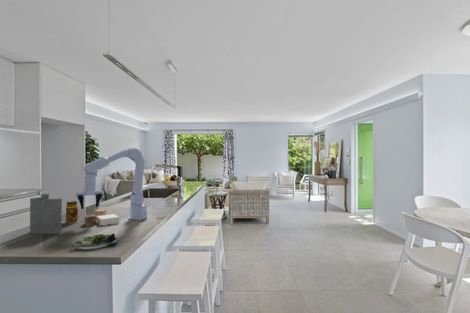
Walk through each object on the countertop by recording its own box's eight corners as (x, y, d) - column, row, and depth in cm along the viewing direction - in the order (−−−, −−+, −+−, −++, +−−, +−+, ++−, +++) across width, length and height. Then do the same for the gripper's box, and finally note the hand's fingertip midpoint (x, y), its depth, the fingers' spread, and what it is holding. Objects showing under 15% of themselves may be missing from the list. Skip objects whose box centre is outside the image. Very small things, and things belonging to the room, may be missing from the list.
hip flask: (62, 232, 146) (63, 193, 146) (57, 234, 142) (57, 194, 142) (33, 231, 147) (33, 192, 147) (27, 233, 143) (27, 193, 143)
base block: (114, 220, 173) (114, 213, 173) (119, 223, 165) (119, 217, 165) (96, 222, 167) (96, 216, 167) (100, 226, 159) (100, 219, 159)
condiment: (73, 223, 163) (73, 202, 163) (59, 223, 164) (59, 202, 164) (81, 220, 170) (81, 200, 170) (68, 220, 171) (68, 200, 171)
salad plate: (77, 256, 114) (77, 245, 114) (62, 246, 126) (62, 235, 126) (123, 244, 128) (123, 234, 128) (105, 236, 140) (105, 227, 140)
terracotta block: (105, 217, 180) (106, 209, 180) (103, 219, 175) (103, 210, 175) (97, 217, 180) (97, 209, 180) (94, 219, 175) (94, 211, 175)
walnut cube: (94, 223, 165) (94, 214, 165) (95, 224, 161) (96, 216, 161) (84, 224, 162) (84, 215, 162) (86, 226, 158) (86, 217, 158)
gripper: (101, 182, 169) (101, 205, 170) (74, 184, 160) (73, 208, 160) (105, 183, 164) (104, 207, 164) (77, 185, 155) (76, 210, 155)
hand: (89, 207), depth 162 cm, fingers open, 7 cm apart
